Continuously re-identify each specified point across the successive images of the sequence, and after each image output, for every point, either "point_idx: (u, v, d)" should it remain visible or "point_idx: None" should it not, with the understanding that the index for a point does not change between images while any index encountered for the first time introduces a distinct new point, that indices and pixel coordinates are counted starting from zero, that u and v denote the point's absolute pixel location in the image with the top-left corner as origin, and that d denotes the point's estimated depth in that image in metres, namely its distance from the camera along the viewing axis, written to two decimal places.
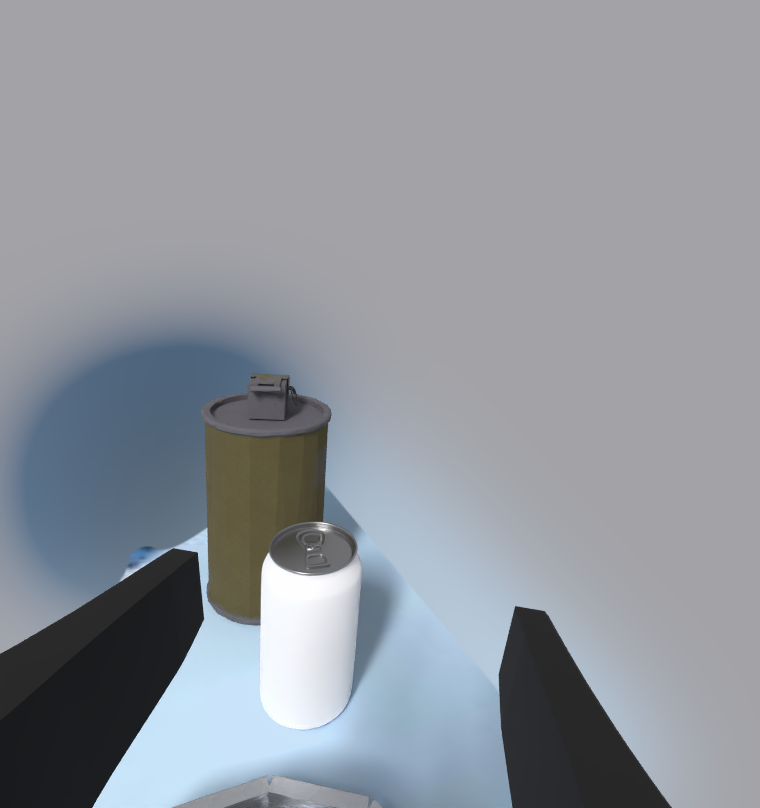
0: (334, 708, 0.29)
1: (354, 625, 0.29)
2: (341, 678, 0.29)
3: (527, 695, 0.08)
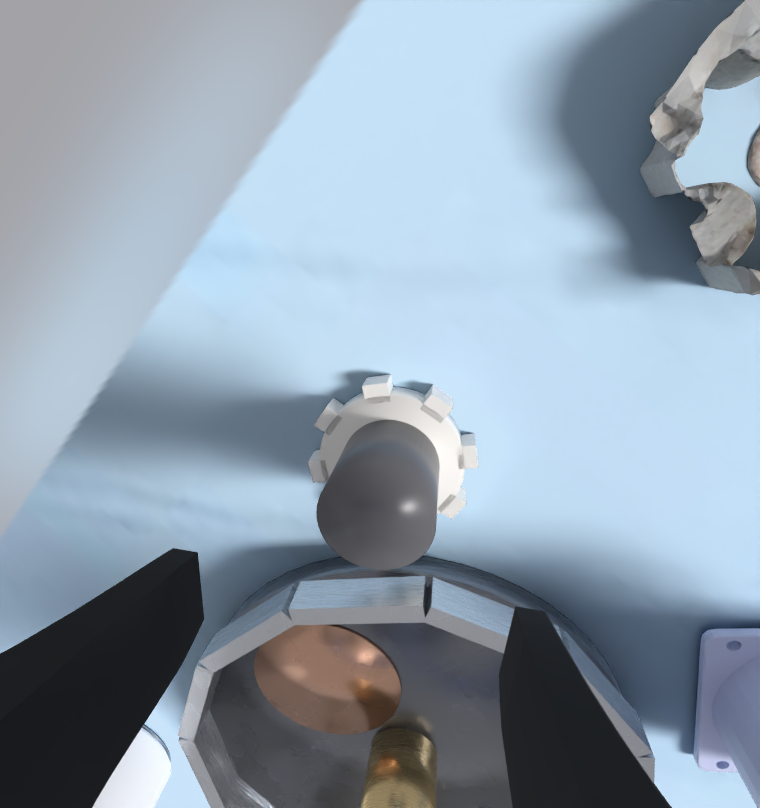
0: None
1: None
2: None
3: (527, 695, 0.08)
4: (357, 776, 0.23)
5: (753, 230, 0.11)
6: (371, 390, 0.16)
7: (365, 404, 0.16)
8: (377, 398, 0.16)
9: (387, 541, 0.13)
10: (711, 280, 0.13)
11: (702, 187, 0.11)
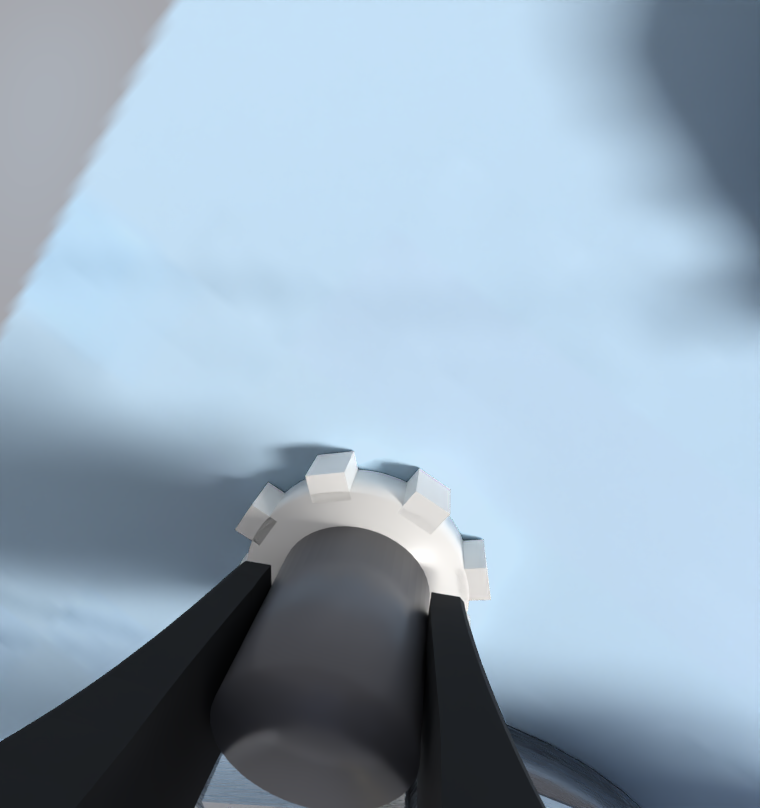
0: None
1: None
2: None
3: (428, 676, 0.08)
4: None
5: None
6: (320, 483, 0.10)
7: (312, 502, 0.10)
8: (330, 495, 0.10)
9: (335, 774, 0.08)
10: None
11: None
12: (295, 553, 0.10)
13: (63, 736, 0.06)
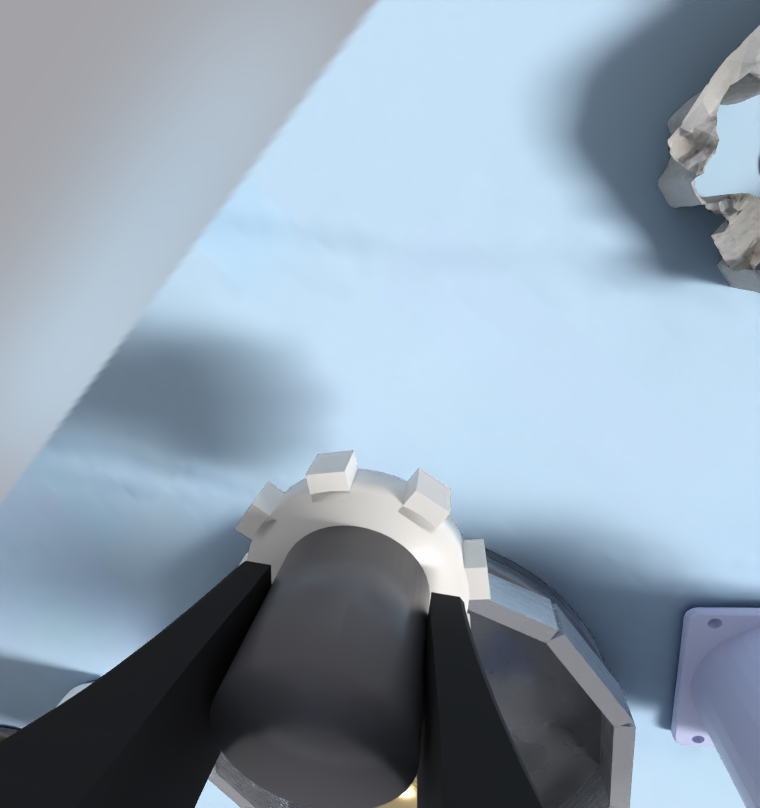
0: None
1: None
2: None
3: (428, 676, 0.08)
4: None
5: None
6: (320, 482, 0.10)
7: (312, 502, 0.10)
8: (330, 494, 0.10)
9: (335, 773, 0.08)
10: (733, 281, 0.14)
11: (721, 200, 0.12)
12: (295, 552, 0.10)
13: (62, 735, 0.06)
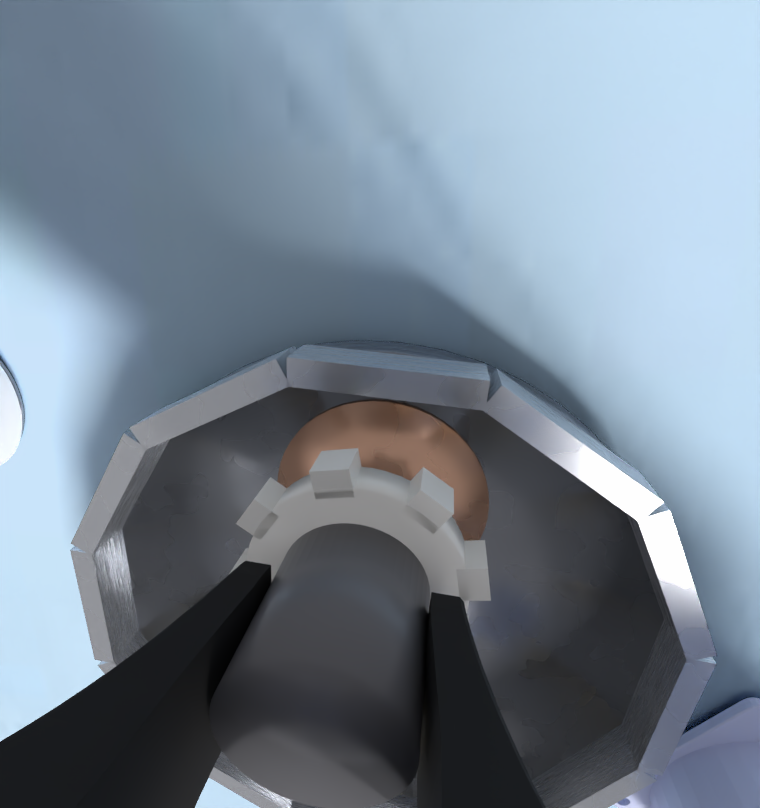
0: None
1: None
2: None
3: (428, 676, 0.08)
4: None
5: None
6: (324, 479, 0.10)
7: (314, 498, 0.10)
8: (333, 491, 0.10)
9: (333, 771, 0.08)
10: None
11: None
12: (297, 549, 0.10)
13: (61, 735, 0.06)
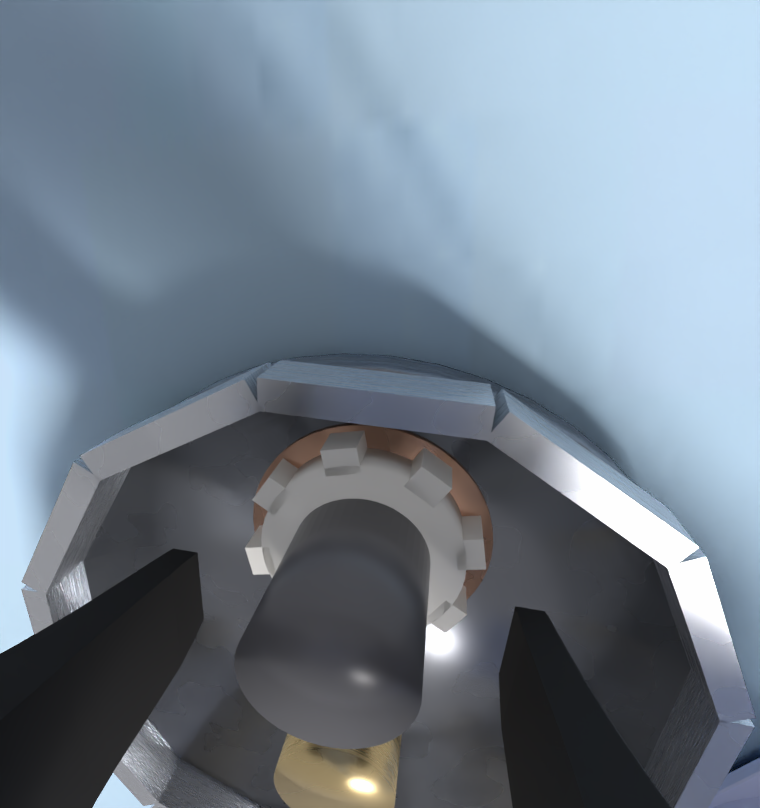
0: None
1: None
2: None
3: (527, 695, 0.08)
4: None
5: None
6: (333, 457, 0.11)
7: (325, 476, 0.11)
8: (342, 468, 0.11)
9: (344, 712, 0.09)
10: None
11: None
12: (309, 521, 0.11)
13: None
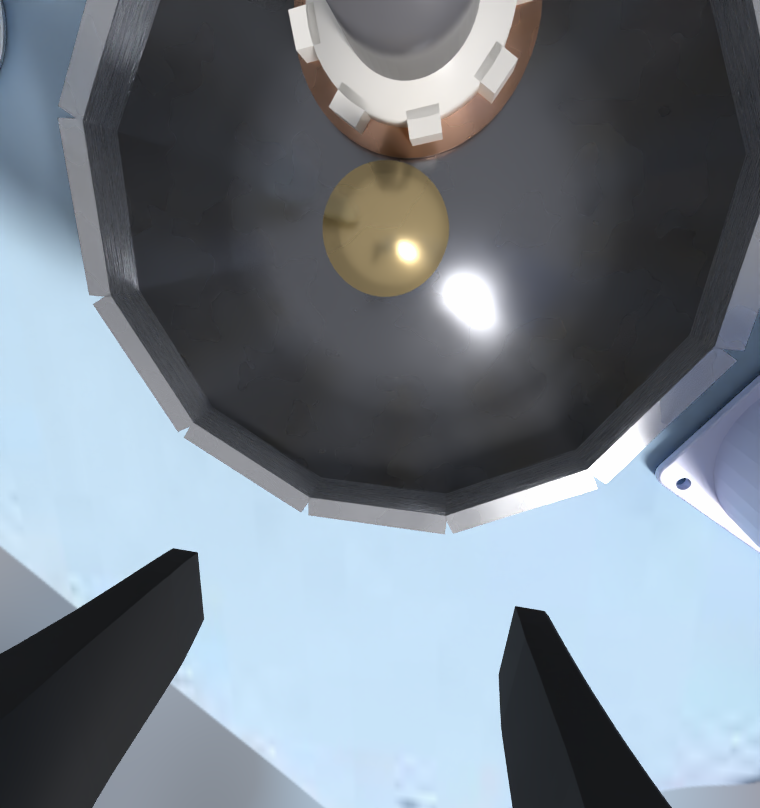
0: None
1: None
2: None
3: (527, 695, 0.08)
4: (298, 238, 0.15)
5: None
6: None
7: None
8: None
9: None
10: None
11: None
12: None
13: None
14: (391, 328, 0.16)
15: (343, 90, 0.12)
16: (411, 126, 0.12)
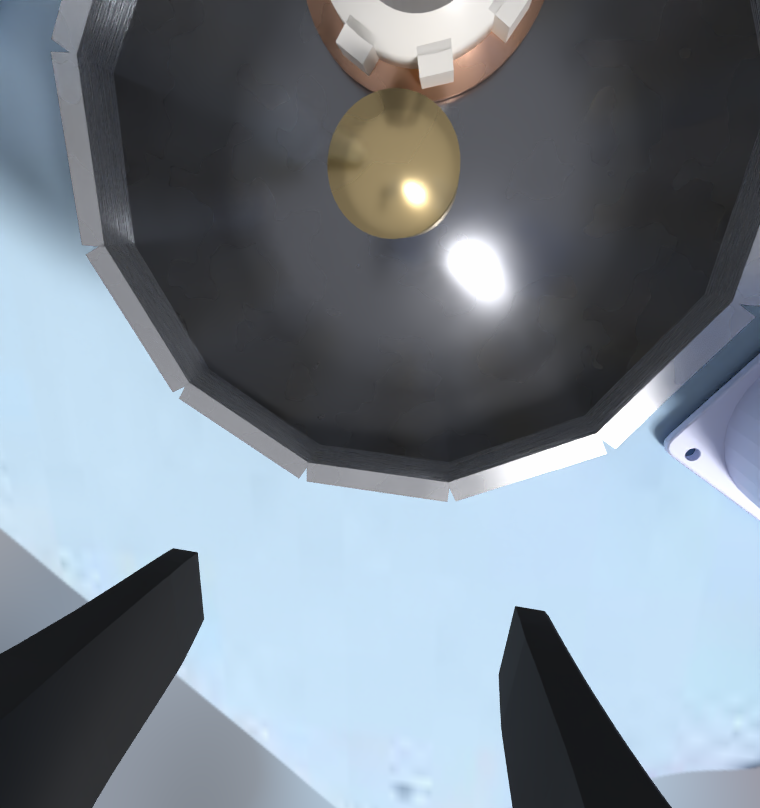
0: None
1: None
2: None
3: (527, 695, 0.08)
4: (301, 189, 0.14)
5: None
6: None
7: None
8: None
9: None
10: None
11: None
12: None
13: None
14: (395, 286, 0.15)
15: (351, 24, 0.12)
16: (421, 63, 0.12)
